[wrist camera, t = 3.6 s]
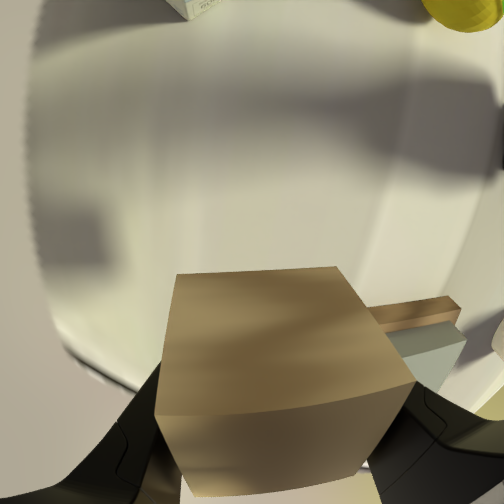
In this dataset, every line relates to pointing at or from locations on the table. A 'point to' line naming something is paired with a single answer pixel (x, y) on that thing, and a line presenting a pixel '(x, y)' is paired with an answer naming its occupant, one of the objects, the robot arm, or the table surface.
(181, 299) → the oak cube
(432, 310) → the walnut slab
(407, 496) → the robot arm
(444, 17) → the lemon
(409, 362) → the slate slab
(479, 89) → the table surface
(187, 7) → the light bulb box
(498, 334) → the cylinder with rectangular tab
